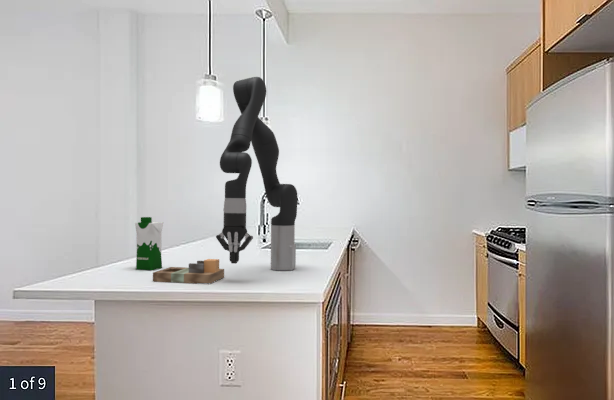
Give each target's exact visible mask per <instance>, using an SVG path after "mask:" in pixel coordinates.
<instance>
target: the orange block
mask: <svg viewBox="0 0 614 400" xmlns="http://www.w3.org/2000/svg"><path fill="white" fill-rule="evenodd" d="M203 261H204V272H210V273H216V272H218V271H219V269H220V259H218V258H216V259H215V258H207V259H204V260H203Z"/></svg>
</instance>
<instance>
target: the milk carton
mask: <svg viewBox="0 0 614 400" xmlns="http://www.w3.org/2000/svg"><path fill="white" fill-rule="evenodd" d="M134 226H135V231H136V259H135V261H136V262H135V269H136V270H139V271H155V270H159V269H163V264H162V263H163V261H162V233H163V232H162V231H163V226H164V222H161V221H158V222H157V221H153V218H152V217H151V216H141V217H140V221H139V222H138V221H137V222H135V223H134Z"/></svg>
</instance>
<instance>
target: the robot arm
mask: <svg viewBox="0 0 614 400" xmlns="http://www.w3.org/2000/svg"><path fill="white" fill-rule="evenodd" d="M232 91H233V96H234V100H235V102H236V104H237V107H238V109H239V112H240V114H241V115H239V117H238V118H237V119H236V121H235V123H234V124H233V127H232V130H231V135H230V140H229V142H228V144H227V145H226V147H225V149H224V151H222V154H221V156H220V159H219V167H220V170H221V171H222V172H223V173H226V174H238V175H237V178H236V179H232V180H231V179H230V180H227V181H225V183H224V201H223V227H222V229H221V233H219V234H217V235H216V236H215V238H216V240H217V241H218V243H219V244H220V246H221V247H222V249H223V250H225V251H228V252H229V262H230V263H231V264H237V263H238V262H239V260H240V252H241V251H244V250H246V248H247V247H248V246H249V244H250V243H251V242H252V240H253V239H254V236H253V235H251V234H249V232H248V230H247V199H246V198H247V197H246V196H247V195H246V194H247V191H246V190H247V183H248V178H249V175H250V172H251V169H252V164H253V160H252V157H251V155H250V153H248V152H247V151H248V150H249V149H250V148H251V147H250V146H252V148H253V152H254V154H255V157H256V161H257V163H258V167H259V170H260V171H259V172H260V174H261V178H262V183H263V186H264V191H265V195H266V199H267V201H268V203H269V205H270V206H271V207H274V208H279V213H277V214H276V215H275V216H273V217H271V219H270V270H273V271H294V270H295V269H297V268H296V267H297V265H296V263H297V262H296V258H297V257H296V255H297V253H296V251H297V244H295V239H296V238H295V235H296V234H295V232H296V231H295V230H296V229H295V227H296V224H295V223H296V222H295V221H296V219H297V216H298V215H297V213H298V190H297V188H296V186H295V185H293V184H291V183H280V180H279V177H278V173H277V165H278V162H279V156H280V149H279V144H278V142H277V139H276V136H275V135H276V134H275V133H274V131H273V130H272V129H271V128H270V127H269V125H267V124H266V123H265V122H264V121H262V119H260V118H259V115H260V113H261V110H262V108H263V105H264V103H265V100H266V97H267V86H266V83H265V80H263V78H261V77H260V76H253V77H248V78H244V79H239V80H236V81H235V82H234V83H233V85H232ZM225 239H226V240H225ZM242 240H244V241H243V243H242ZM241 243H242V244H241Z"/></svg>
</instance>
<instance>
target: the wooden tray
mask: <svg viewBox="0 0 614 400" xmlns="http://www.w3.org/2000/svg"><path fill="white" fill-rule="evenodd" d="M221 278H222V279H224V278H225V268H219V271H218V272H216V273H210V272H204V260H197V261H196V262H195V263H192V262H191V263H188V267H183V266H169V267H166V268H164V269H163V268H162V269H161V270H157V271H153V272H152V282H153V281H154V282H153V283H155V282H156V283H157V282H158V283H179V284H197V283H211V284H213V283H215V282H217V281H216V280H218V281H220V280H221ZM219 279H220V280H219ZM214 281H215V282H214ZM212 282H213V283H212Z"/></svg>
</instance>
